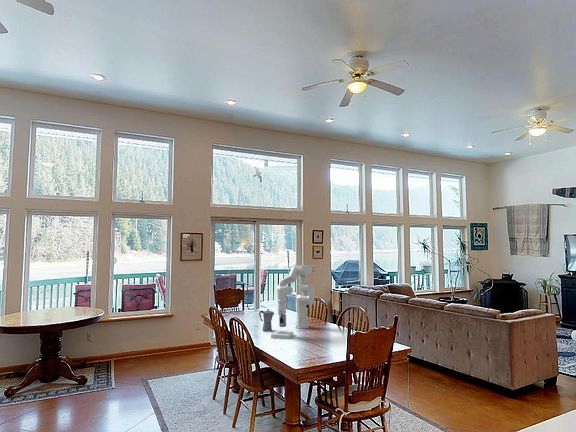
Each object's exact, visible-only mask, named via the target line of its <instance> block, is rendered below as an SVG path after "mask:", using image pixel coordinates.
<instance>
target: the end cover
mask: <svg viewBox="0 0 576 432" xmlns="http://www.w3.org/2000/svg"><path fill="white" fill-rule="evenodd" d="M281 315H283V314H281ZM283 319H284V323H280V315H278V322H279V323H278V324H279V327H280V328H286V327H287V314H286V313H285V314H284V315H283Z"/></svg>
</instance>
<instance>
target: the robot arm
mask: <svg viewBox="0 0 576 432" xmlns="http://www.w3.org/2000/svg"><path fill="white" fill-rule="evenodd" d="M312 271H313V268H312V266H311V265H309V264H298V265H297V264H295V265H293V266H292V267H291V269H290V271H289V273H288V275H287V276H286V277H284V278H283V279H281V281H280V282H279V284H278V286H277V288H276V289H277V290H276V293H277V304H278V307H277V308H278V310H277V315H278V316H279V315H280V323H284V319H283V315H284V314H286V313H287V305H286V304H287V295H289V296H290V295H292V294H293V291H294V290H293V288H292V286H290V284H293V283H295V282H297V279H298V292H299V293H300V294H297V295H296V297H295V300H296V306H297V307H296V308H297V310H296V311H297V318H296V319H297V325H295V328H297V329H308V328H310V326H309V324H308V307H307V306H306V305H309V306H311V305H313V304H314V302H315V291H316V289H315V285H314V284H313V283H312V282H311V283H309V282H308V281H309V279H308V275H310V274H311V273H312ZM281 314H283V315H281Z"/></svg>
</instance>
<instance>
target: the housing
mask: <svg viewBox="0 0 576 432" xmlns="http://www.w3.org/2000/svg"><path fill="white" fill-rule="evenodd" d="M293 336H294V331H293V330H278V329H276V330H274V332H273V333H271V334H270V338H271V339H280V340H281V339H283V340H289V339H291V338H292V337H293Z"/></svg>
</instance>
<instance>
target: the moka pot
mask: <svg viewBox="0 0 576 432" xmlns="http://www.w3.org/2000/svg"><path fill="white" fill-rule="evenodd" d="M261 314H262V315H263V319H262V315H261ZM274 315H275V312H274V311H272V310H270V309H269V308H267V310H259V313H258V316H259V318H260V321H262V322H263V326H262V331H263V332H272V331H273V329H272V320H273V316H274Z"/></svg>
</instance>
